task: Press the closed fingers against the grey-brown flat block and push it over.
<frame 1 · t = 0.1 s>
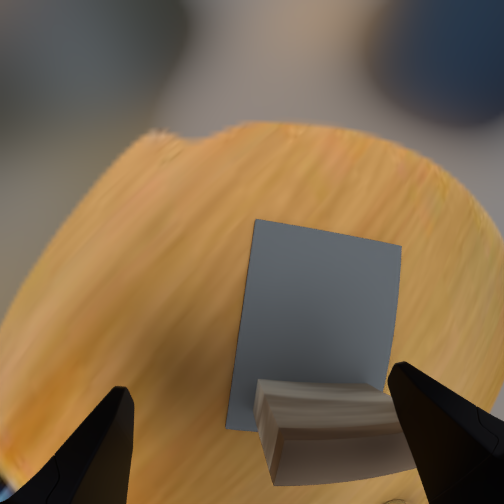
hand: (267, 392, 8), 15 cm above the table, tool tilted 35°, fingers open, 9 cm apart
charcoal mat: (321, 337, 24), on the table
grey-brown flat block: (312, 398, 22), resting on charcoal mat
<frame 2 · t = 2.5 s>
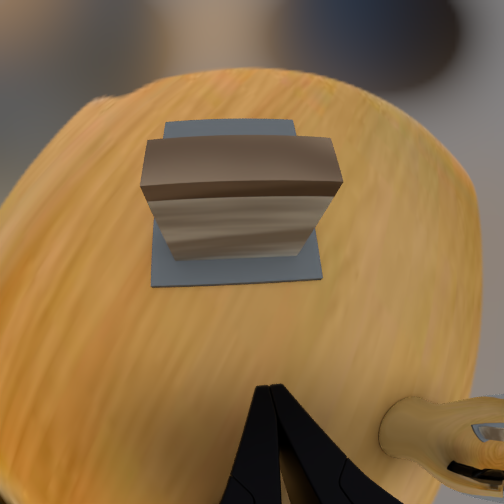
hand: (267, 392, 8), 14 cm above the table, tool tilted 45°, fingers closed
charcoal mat: (232, 188, 27), on the table
grey-brown flat block: (235, 241, 24), resting on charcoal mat
beer glass: (404, 427, 20), on the table
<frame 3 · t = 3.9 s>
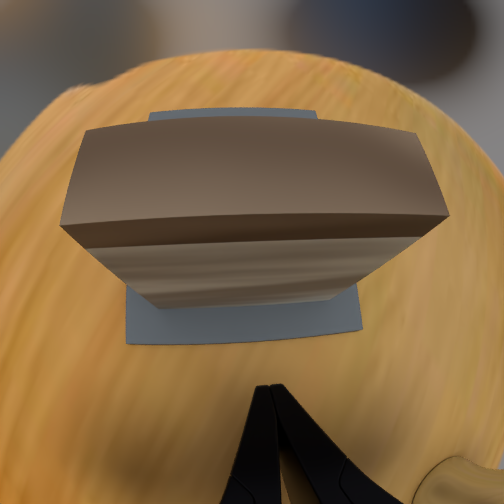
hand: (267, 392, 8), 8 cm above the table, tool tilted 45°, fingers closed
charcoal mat: (238, 202, 19), on the table
grey-brown flat block: (243, 280, 17), resting on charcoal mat
beer glass: (440, 488, 13), on the table
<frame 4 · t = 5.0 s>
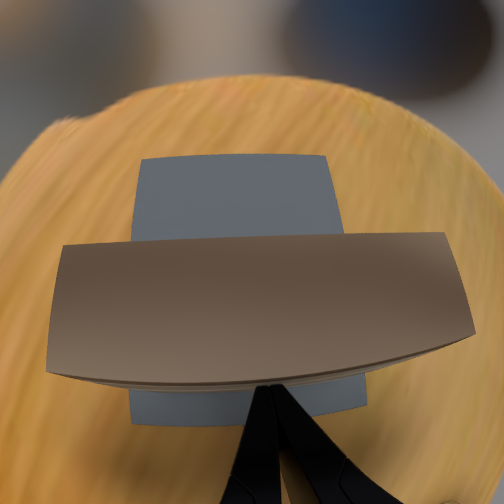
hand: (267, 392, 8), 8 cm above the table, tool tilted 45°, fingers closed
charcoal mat: (241, 274, 18), on the table
grey-brown flat block: (248, 364, 15), point 1 cm above the table, tilted 7°, touching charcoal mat
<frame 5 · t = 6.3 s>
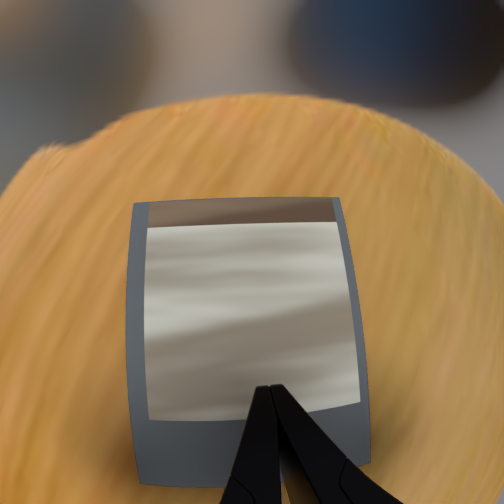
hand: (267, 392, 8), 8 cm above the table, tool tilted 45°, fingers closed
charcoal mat: (246, 341, 16), on the table
grey-brown flat block: (255, 412, 13), point 2 cm above the table, tilted 90°, touching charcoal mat
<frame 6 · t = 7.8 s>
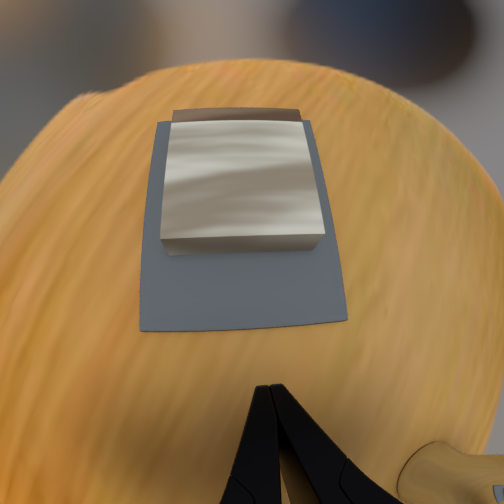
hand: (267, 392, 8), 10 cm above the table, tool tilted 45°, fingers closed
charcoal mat: (238, 206, 22), on the table
grey-brown flat block: (242, 244, 19), point 2 cm above the table, tilted 90°, touching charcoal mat
beer glass: (424, 472, 15), on the table
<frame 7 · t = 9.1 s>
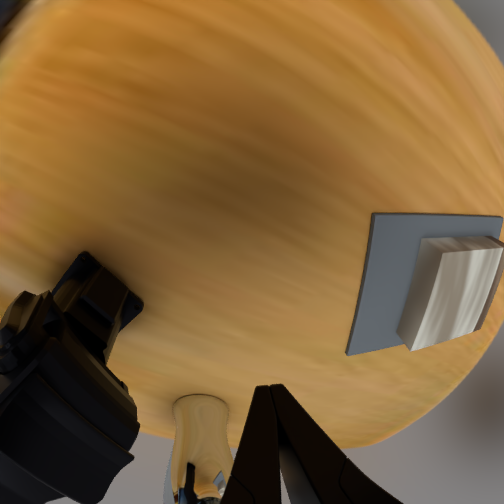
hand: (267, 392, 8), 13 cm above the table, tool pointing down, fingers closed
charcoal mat: (435, 282, 24), on the table
grey-brown flat block: (417, 298, 22), point 2 cm above the table, tilted 90°, touching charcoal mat
beer glass: (200, 408, 28), on the table
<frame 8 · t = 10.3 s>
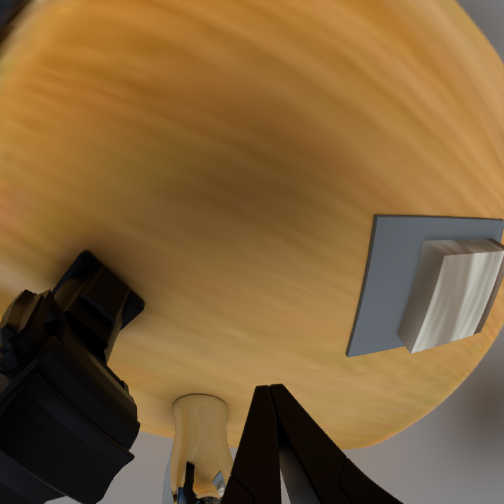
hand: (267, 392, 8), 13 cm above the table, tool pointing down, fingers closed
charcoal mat: (436, 284, 24), on the table
grey-brown flat block: (418, 300, 22), point 2 cm above the table, tilted 90°, touching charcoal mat
beer glass: (200, 408, 28), on the table
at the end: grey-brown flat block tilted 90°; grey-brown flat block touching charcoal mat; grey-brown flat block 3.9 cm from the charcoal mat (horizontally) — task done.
